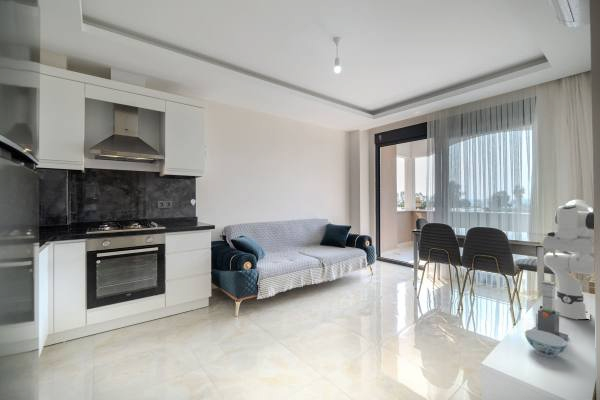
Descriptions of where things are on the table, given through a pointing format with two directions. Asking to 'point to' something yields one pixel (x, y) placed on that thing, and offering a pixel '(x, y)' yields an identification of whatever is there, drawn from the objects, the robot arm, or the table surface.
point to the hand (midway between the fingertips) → (566, 259)
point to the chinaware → (545, 342)
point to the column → (549, 296)
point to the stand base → (549, 323)
